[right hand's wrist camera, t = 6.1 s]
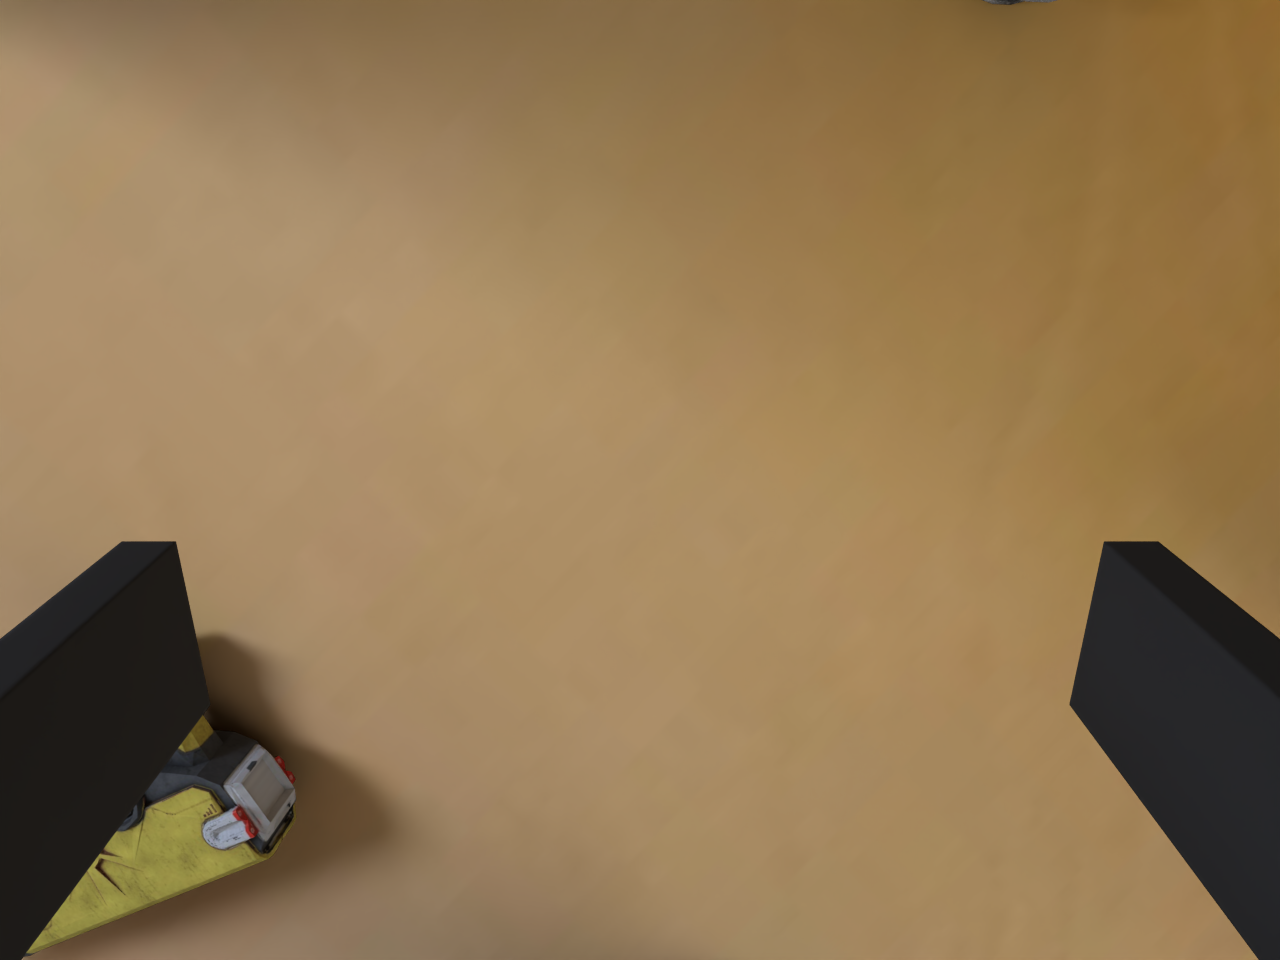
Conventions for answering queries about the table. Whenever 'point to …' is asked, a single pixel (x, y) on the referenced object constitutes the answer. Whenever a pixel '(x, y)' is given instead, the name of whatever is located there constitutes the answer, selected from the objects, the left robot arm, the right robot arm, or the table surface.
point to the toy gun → (184, 831)
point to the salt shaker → (1014, 1)
